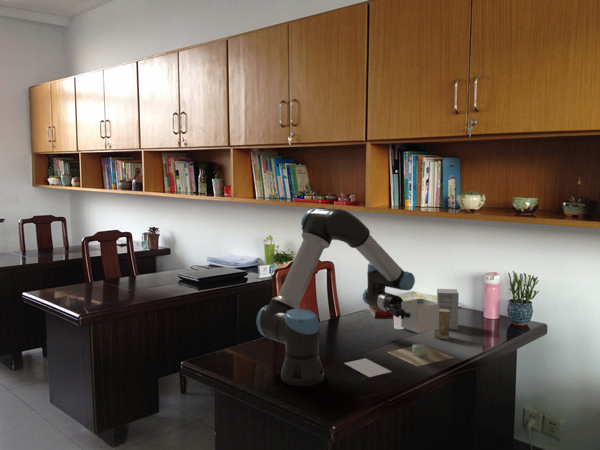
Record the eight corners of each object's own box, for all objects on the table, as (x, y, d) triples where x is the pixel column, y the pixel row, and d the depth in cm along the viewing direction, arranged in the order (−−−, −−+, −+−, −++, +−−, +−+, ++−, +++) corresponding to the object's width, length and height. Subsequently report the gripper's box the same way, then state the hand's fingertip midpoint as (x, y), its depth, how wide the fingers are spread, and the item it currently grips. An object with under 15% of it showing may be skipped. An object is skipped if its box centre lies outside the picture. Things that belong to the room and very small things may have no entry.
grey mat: (369, 378, 188) (369, 377, 188) (343, 364, 202) (343, 363, 202) (405, 369, 195) (405, 368, 195) (378, 356, 209) (378, 355, 209)
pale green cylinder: (418, 358, 205) (419, 349, 205) (409, 354, 210) (409, 345, 210) (430, 355, 208) (430, 346, 208) (420, 351, 213) (420, 342, 213)
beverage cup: (401, 330, 243) (401, 300, 242) (389, 328, 247) (390, 298, 246) (408, 327, 248) (408, 297, 246) (396, 325, 252) (397, 295, 250)
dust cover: (418, 333, 201) (419, 304, 200) (401, 326, 210) (401, 298, 209) (438, 329, 206) (439, 300, 205) (420, 322, 215) (421, 295, 214)
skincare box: (433, 338, 231) (434, 310, 230) (433, 335, 235) (434, 308, 234) (449, 339, 229) (449, 311, 228) (449, 336, 233) (449, 309, 232)
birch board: (417, 367, 197) (417, 366, 197) (386, 353, 213) (386, 352, 213) (453, 359, 206) (453, 357, 206) (421, 346, 221) (421, 344, 221)
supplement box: (458, 330, 243) (459, 293, 241) (437, 329, 245) (437, 292, 243) (456, 324, 252) (457, 288, 251) (436, 323, 254) (436, 288, 252)
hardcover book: (416, 317, 266) (416, 309, 266) (374, 319, 264) (374, 310, 263) (408, 311, 278) (408, 303, 278) (368, 312, 276) (368, 304, 275)
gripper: (411, 308, 229) (449, 320, 210) (368, 316, 218) (404, 329, 199) (411, 291, 228) (449, 301, 209) (368, 297, 217) (404, 309, 198)
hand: (427, 315), depth 204 cm, fingers closed on dust cover, 10 cm apart
